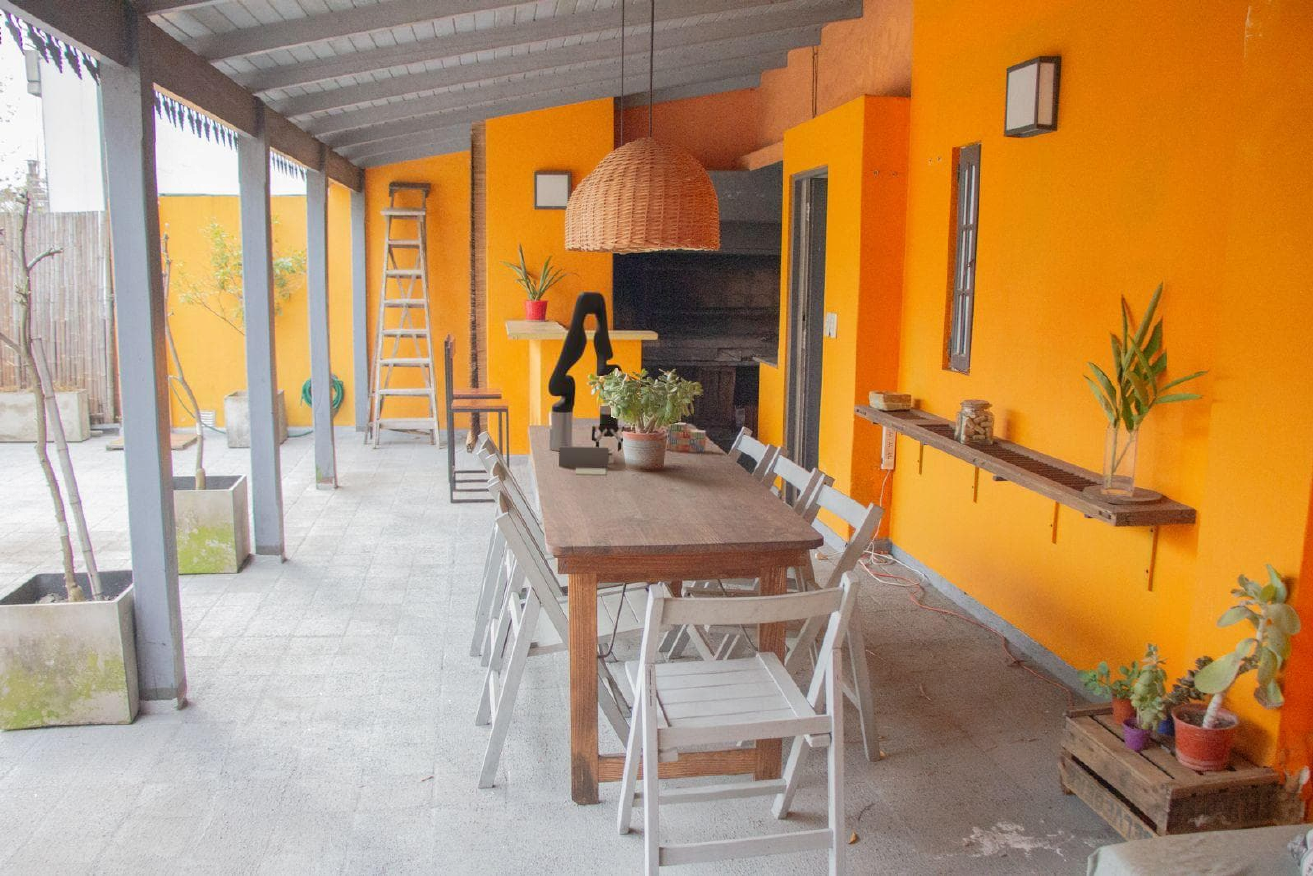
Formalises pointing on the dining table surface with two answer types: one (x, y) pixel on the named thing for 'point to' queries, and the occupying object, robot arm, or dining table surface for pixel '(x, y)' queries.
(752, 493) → the dining table surface
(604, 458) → the charcoal wall
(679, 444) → the stack of blocks
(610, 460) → the marked cube
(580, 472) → the sage pad
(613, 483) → the dining table surface
